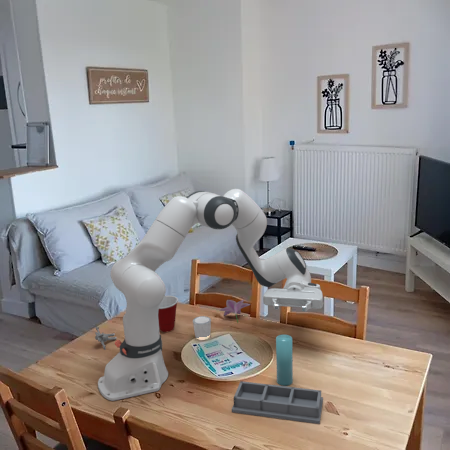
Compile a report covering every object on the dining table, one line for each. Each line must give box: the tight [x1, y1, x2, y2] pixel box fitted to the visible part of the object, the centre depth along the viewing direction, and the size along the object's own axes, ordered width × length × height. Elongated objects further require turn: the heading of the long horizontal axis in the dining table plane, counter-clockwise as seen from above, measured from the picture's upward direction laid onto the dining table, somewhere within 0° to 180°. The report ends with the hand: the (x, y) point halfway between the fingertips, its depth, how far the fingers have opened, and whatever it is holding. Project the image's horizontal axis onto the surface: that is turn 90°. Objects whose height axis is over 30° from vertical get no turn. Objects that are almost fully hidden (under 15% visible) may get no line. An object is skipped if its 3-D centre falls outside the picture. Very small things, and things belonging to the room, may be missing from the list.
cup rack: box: [231, 380, 324, 425], centre depth 144 cm, size 25×11×4 cm, turn 74°
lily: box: [218, 299, 251, 323], centre depth 199 cm, size 12×12×10 cm
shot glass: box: [192, 315, 212, 339], centre depth 186 cm, size 7×7×7 cm
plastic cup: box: [158, 295, 179, 333], centre depth 193 cm, size 11×11×12 cm
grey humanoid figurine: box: [94, 325, 117, 351], centre depth 185 cm, size 10×6×9 cm
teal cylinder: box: [275, 334, 294, 387], centre depth 154 cm, size 5×5×15 cm
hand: (290, 308), depth 163 cm, fingers open, 8 cm apart
